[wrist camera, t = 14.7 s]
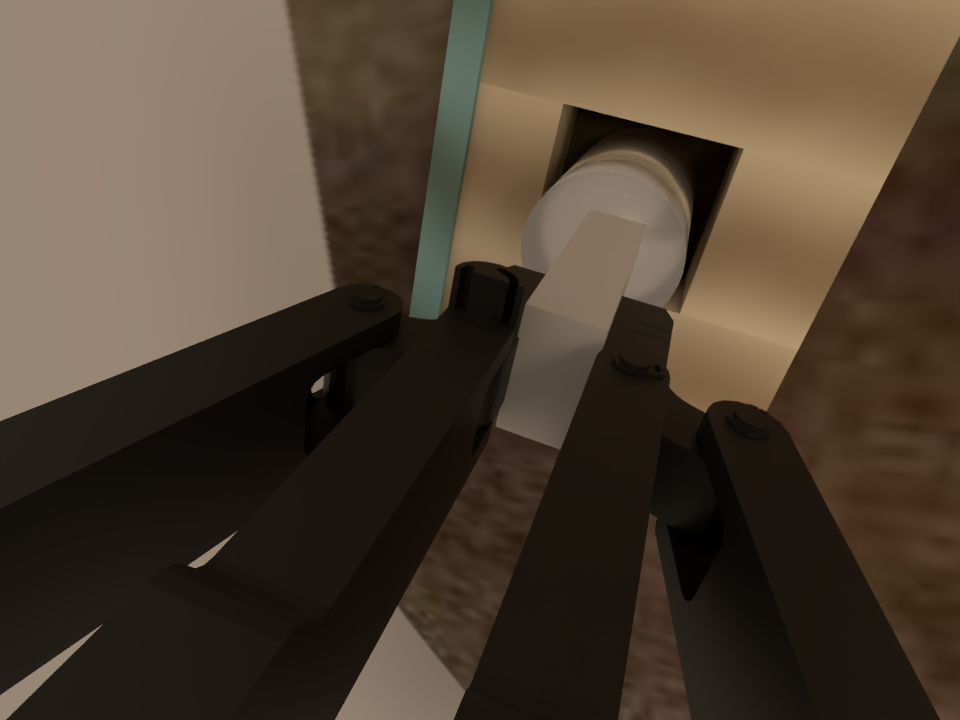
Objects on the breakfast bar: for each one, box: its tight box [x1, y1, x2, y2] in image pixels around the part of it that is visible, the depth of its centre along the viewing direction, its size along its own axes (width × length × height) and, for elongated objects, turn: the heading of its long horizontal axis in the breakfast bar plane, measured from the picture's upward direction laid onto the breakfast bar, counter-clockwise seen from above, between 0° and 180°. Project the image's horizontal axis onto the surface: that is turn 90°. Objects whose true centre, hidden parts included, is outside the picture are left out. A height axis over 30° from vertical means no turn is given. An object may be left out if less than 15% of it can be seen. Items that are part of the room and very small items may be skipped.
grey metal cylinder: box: [521, 128, 695, 308], centre depth 21 cm, size 5×5×8 cm
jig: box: [409, 0, 960, 413], centre depth 23 cm, size 16×14×4 cm
